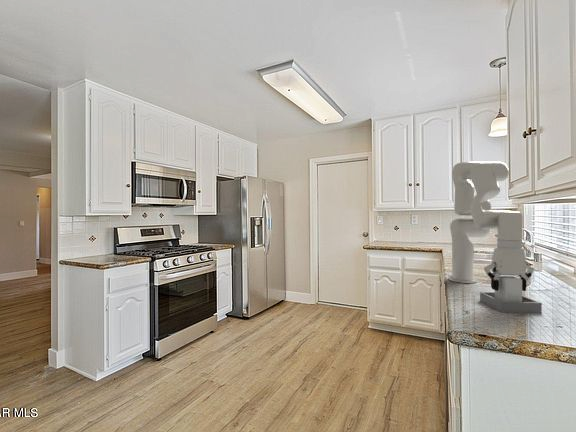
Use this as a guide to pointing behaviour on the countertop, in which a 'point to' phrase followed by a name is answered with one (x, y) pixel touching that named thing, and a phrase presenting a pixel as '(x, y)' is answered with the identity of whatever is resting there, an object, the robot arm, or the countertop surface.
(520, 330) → the countertop surface
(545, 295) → the countertop surface
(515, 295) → the small box
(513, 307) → the tray
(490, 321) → the countertop surface
